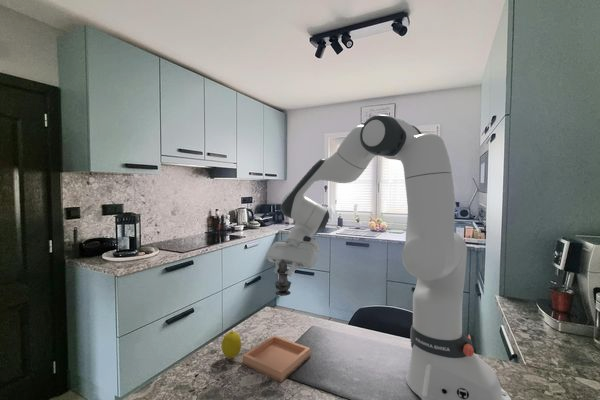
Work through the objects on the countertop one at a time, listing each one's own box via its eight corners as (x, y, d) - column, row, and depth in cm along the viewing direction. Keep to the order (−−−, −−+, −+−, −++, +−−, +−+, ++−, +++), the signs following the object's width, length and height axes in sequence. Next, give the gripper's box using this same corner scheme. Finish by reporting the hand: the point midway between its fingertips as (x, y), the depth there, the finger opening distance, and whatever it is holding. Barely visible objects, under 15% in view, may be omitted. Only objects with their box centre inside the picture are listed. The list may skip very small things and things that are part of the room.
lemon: (236, 365, 76) (236, 336, 76) (218, 362, 78) (218, 334, 78) (244, 354, 82) (244, 327, 82) (227, 352, 83) (227, 326, 83)
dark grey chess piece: (291, 296, 92) (290, 260, 92) (273, 296, 92) (273, 260, 92) (291, 290, 98) (291, 257, 98) (275, 290, 98) (275, 257, 98)
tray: (310, 356, 81) (310, 348, 81) (281, 382, 69) (281, 372, 69) (274, 342, 89) (274, 335, 89) (242, 363, 77) (242, 354, 77)
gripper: (272, 235, 107) (255, 264, 99) (317, 239, 95) (302, 272, 87) (279, 245, 110) (263, 274, 102) (323, 249, 99) (309, 283, 91)
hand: (281, 273), depth 95 cm, fingers closed on dark grey chess piece, 4 cm apart
